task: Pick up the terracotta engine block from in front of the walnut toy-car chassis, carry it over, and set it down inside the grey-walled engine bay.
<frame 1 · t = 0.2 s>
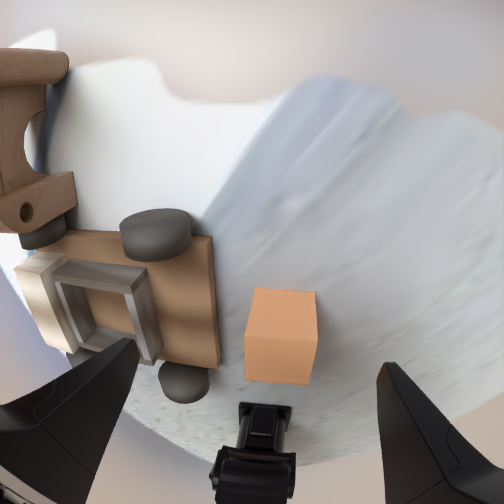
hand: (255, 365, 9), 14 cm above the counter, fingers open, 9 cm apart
chassis: (122, 295, 27), on the counter
engine block: (283, 312, 25), on the counter
wooden toy: (49, 132, 20), on the counter
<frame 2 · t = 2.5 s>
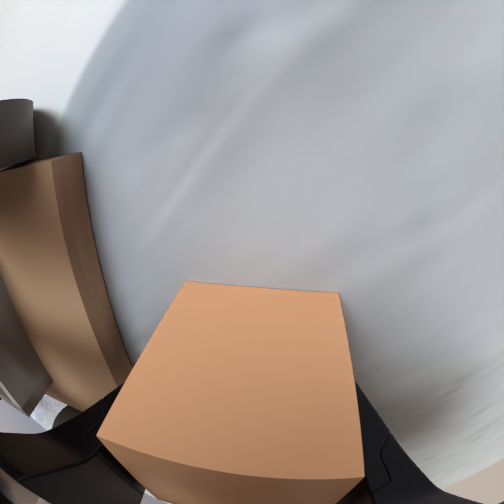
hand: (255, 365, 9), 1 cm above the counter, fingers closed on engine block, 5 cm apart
engine block: (258, 344, 10), on the counter, touching gripper
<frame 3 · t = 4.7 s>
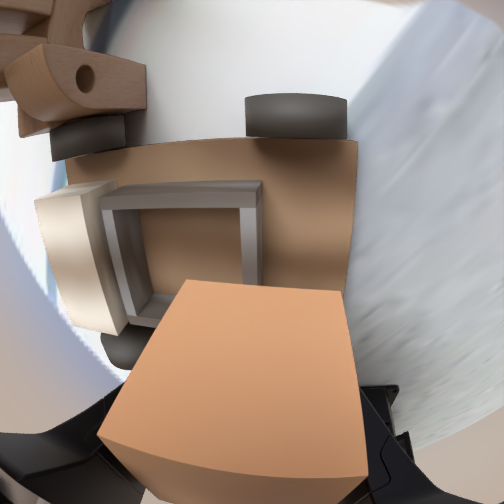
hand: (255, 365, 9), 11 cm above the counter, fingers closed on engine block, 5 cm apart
chassis: (200, 240, 20), on the counter
engine block: (260, 343, 10), point 10 cm above the counter, touching gripper
wooden toy: (113, 26, 14), on the counter
when the fingers open (4 cm above the counter, at t = 6.7 s): engine block drops 2 cm, resting on chassis.
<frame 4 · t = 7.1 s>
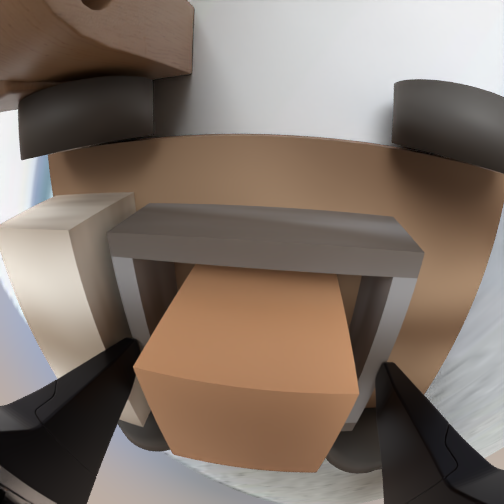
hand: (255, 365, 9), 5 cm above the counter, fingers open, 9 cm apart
chassis: (267, 292, 13), on the counter
engine block: (264, 310, 12), point 1 cm above the counter, touching chassis
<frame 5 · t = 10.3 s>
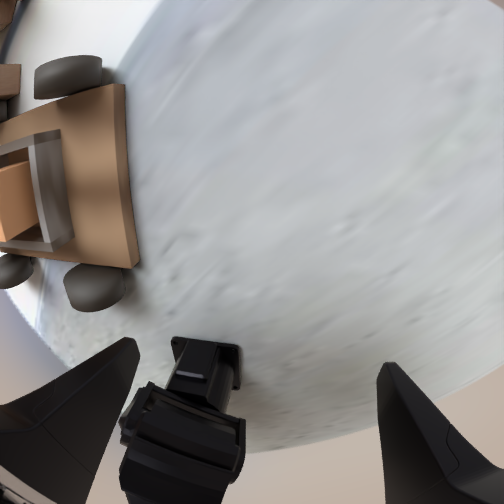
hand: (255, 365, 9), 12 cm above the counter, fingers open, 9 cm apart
chassis: (44, 183, 21), on the counter
engine block: (33, 187, 19), point 1 cm above the counter, touching chassis
wooden toy: (11, 39, 14), on the counter
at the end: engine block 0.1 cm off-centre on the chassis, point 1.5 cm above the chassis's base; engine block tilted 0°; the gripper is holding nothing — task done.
